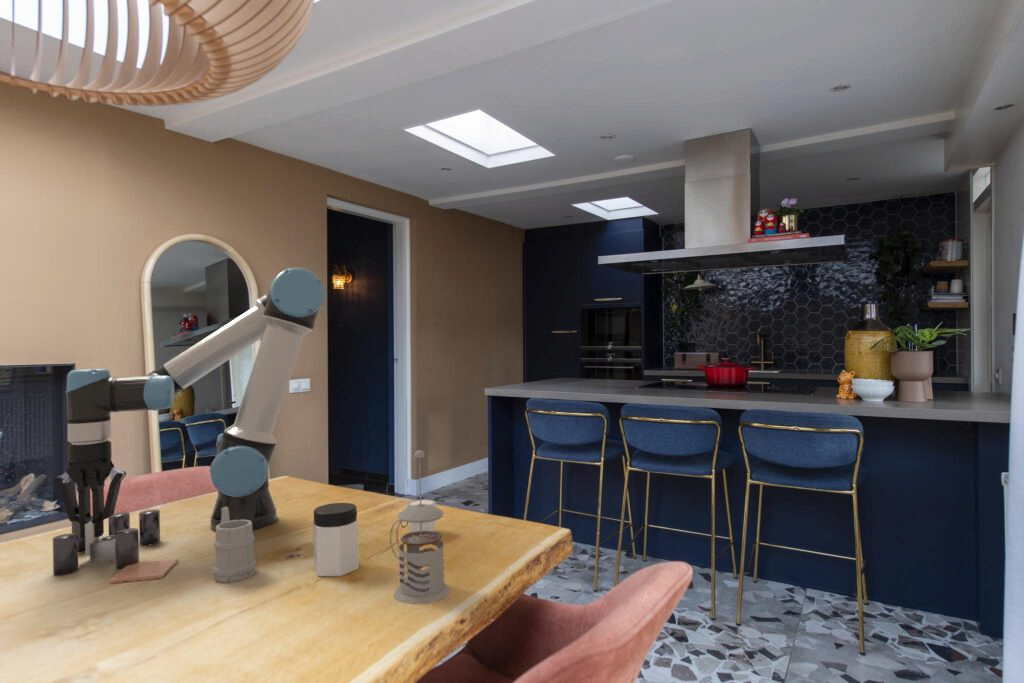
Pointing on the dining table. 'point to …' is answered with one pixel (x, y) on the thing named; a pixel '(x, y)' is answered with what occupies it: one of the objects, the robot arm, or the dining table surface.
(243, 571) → the mug
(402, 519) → the french press
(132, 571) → the coaster
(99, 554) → the nut
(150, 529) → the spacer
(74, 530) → the cylinder
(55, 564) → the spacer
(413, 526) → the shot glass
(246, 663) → the dining table surface
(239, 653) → the dining table surface
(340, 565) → the jar
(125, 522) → the cylinder
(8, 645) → the dining table surface
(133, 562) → the cylinder
